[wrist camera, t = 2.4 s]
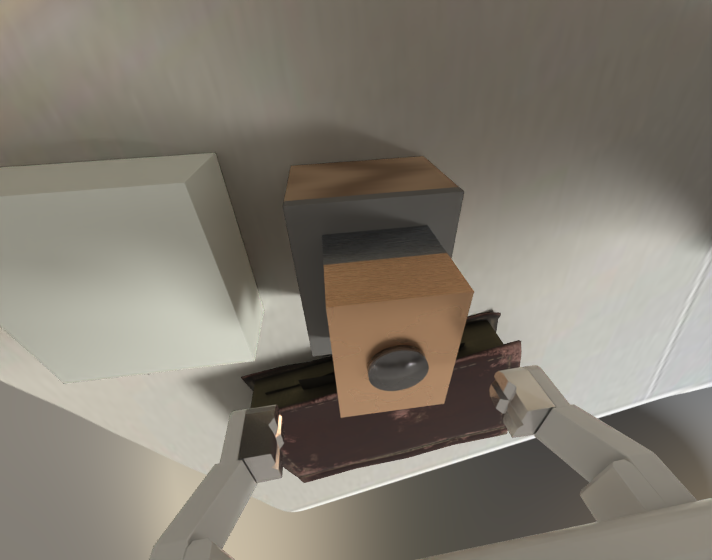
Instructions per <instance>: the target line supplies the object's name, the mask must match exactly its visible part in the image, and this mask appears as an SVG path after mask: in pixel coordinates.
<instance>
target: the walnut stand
mask: <svg viewBox="0 0 712 560" xmlns="http://www.w3.org/2000/svg"><path fill="white" fill-rule="evenodd" d="M463 195H464V191H463V190H462V189H461V188H460V187H458V186H457V185H456V184H455V183H454V182H453V181H451V180H450V179H449V178H448V177H447V176H446V175H445V174H443V173H442V172H441V171H440V170H439V169H438V168H437V167H435V166H434V165H433V164H432V163H431V162H430V161H429V160H427V159H426V158H425V157H424V156H419V157H405V158H391V159H378V160H364V161H350V162H337V163H323V164H309V165H296V166H291V167H290V172H289V178H288V183H287V188H286V193H285V198H284V203H283V210H284V215H285V220H286V225H287V230H288V235H289V240H290V245H291V250H292V255H293V260H294V265H295V270H296V275H297V280H298V286H299V291H300V296H301V301H302V306H303V311H304V316H305V321H306V326H307V331H308V336H309V341H310V346H311V351H312V356H320V355H328V354H332V349H331V341H330V334H329V326H328V319H327V312H326V299H325V282H324V264H323V246H322V235H324V234H335V233H346V232H357V231H368V230H379V229H390V228H401V227H412V226H423V225H428V226H429V228H430V229H431V231H432V232H433V234H434V235H435V236H436V238H437V239H438V241H439V242H440V244H441V245H442V246H443V248H444V249H445V251H446V252H447V254H448V255H449V256H450V258H452V253H453V248H454V242H455V237H456V232H457V227H458V221H459V216H460V211H461V206H462V200H463Z"/></svg>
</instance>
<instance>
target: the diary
mask: <svg viewBox="0 0 712 560" xmlns="http://www.w3.org/2000/svg"><path fill="white" fill-rule="evenodd" d="M500 315H501V313H490V312H487V313H483V314H478V315H474V316H470V317H467V320H466V323H465V327H464V331H463V335H462V338H461V342H460V346H459V350H458V353H457V357H456V361H455V365H454V368H453V372H452V376H451V380H450V383H449V387H448V391H447V395H446V398H445V402H444V404H438V405H430V406H423V407H416V408H408V409H401V410H394V411H386V412H379V413H372V414H364V415H357V416H350V417H342V418H341V416H340V408H339V401H338V393H337V386H336V378H335V371H334V364H333V356H330V357H326V358H323V359H319V360H315V361H311V362H306V363H299V364H293V365H286V366H282V367H278V368H274V369H270V370H266V371H262V372H258V373H254V374H250V375H247V376H243V377H241V378H242V379H243V380H244V382H245V383H246V384H247V385H248V386H249V387H250V388H251V389H252V390H253V397H252V403H251V408H258V407H264V406H271V405H278V408H279V415H280V416H282V419H283V423H284V444H283V446H282V447H281V449H280V450H281V452H282V455H283V467H284V468H285V469H287V470H288V471H289V472H291V473H292V474H294V475H295V476H297V477H298V478H299V479H300V480H301V481H302V482H304V483H306V482H310V481H313V480H317V479H321V478H324V477H328V476H331V475H335V474H338V473H342V472H345V471H349V470H353V469H356V468H361V467H366V466H370V465H375V464H380V463H385V462H390V461H395V460H400V459H404V458H409V457H412V456H416V455H419V454H423V453H426V452H430V451H433V450H437V449H440V448H444V447H447V446H451V445H455V444H460V443H465V442H470V441H475V440H480V439H485V438H490V437H495V436H500V435H504V434H507V431H508V429H507V428H506V426H505V424H504V422H503V421H502V418H503V413H501V412H500V411H499V410H497V409H496V408H495V406H494V404H493V402H492V400H491V397H490V390H489V389H490V386H491V384H492V383H493V382H494V381H495V380H496V379H495V377H494V376H495V373H496V372H498V371H501V370H507V369H513V368H519V367H520V360H521V341H519V340H518V341H514V342H510V343H507V344H503V343H502V341H501V340H500V338H499V337H498V335H497V334H496V330H497V322H498V318H499V317H500ZM328 355H332V354H328ZM328 355H323V356H328Z"/></svg>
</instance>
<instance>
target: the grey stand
mask: <svg viewBox="0 0 712 560" xmlns="http://www.w3.org/2000/svg"><path fill="white" fill-rule="evenodd" d="M263 314H264V308H263V305H262V302H261V298H260V295H259V292H258V289H257V286H256V282H255V279H254V276H253V273H252V269H251V266H250V263H249V260H248V256H247V253H246V250H245V247H244V244H243V240H242V237H241V234H240V231H239V227H238V224H237V221H236V218H235V214H234V211H233V208H232V205H231V202H230V198H229V195H228V192H227V189H226V185H225V182H224V179H223V176H222V172H221V169H220V166H219V163H218V160H217V156H216V153H203V154H188V155H174V156H159V157H145V158H130V159H116V160H101V161H86V162H72V163H57V164H43V165H28V166H14V167H0V326H1V327H2V328H3V329H4V330H5V331H6V332H7V333H8V334H9V335H11V336H12V337H13V338H14V339H15V340H16V341H17V342H18V343H19V344H20V345H22V346H23V347H24V348H25V349H26V350H27V351H28V352H29V353H30V354H31V355H33V356H34V357H35V358H36V359H37V360H38V361H39V362H40V363H41V364H42V365H44V366H45V367H46V368H47V369H48V370H49V371H50V372H51V373H52V374H53V375H55V376H56V377H57V378H58V379H59V380H60V381H61V382H62V383H63V384H68V383H76V382H85V381H93V380H101V379H110V378H118V377H126V376H135V375H143V374H151V373H160V372H168V371H176V370H185V369H193V368H201V367H210V366H218V365H226V364H235V363H243V362H251V361H255V356H256V351H257V346H258V340H259V335H260V330H261V325H262V319H263Z"/></svg>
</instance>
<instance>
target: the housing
mask: <svg viewBox="0 0 712 560" xmlns="http://www.w3.org/2000/svg"><path fill="white" fill-rule="evenodd" d="M322 246H323V264H324V282H325V299H326V312H327V319H328V326H329V334H330V341H331V349H332V356H333V364H334V371H335V378H336V386H337V393H338V401H339V408H340V416H341V418H342V417H350V416H357V415H364V414H372V413H379V412H386V411H394V410H401V409H408V408H416V407H423V406H430V405H438V404H444V402H445V398H446V395H447V391H448V387H449V383H450V380H451V376H452V372H453V368H454V365H455V361H456V357H457V353H458V350H459V346H460V342H461V338H462V335H463V331H464V327H465V323H466V320H467V316H468V312H469V308H470V305H471V301H472V297H473V293H474V291H473V289H472V288H471V287H470V285H469V284H468V282H467V281H466V279H465V278H464V277H463V275H462V274H461V272H460V271H459V269H458V268H457V267H456V265H455V264H454V262H453V261H452V259H451V258H450V256H449V255H448V254H447V252H446V251H445V249H444V248H443V246H442V245H441V244H440V242H439V241H438V239H437V238H436V236H435V235H434V234H433V232H432V231H431V229H430V228H429V226H428V225H423V226H412V227H401V228H390V229H379V230H368V231H357V232H346V233H335V234H324V235H322Z"/></svg>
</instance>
